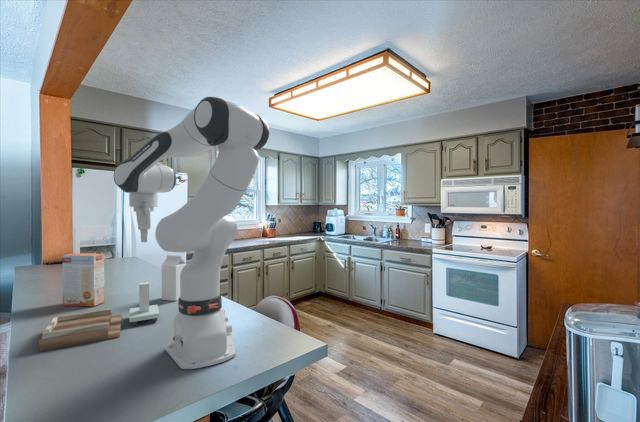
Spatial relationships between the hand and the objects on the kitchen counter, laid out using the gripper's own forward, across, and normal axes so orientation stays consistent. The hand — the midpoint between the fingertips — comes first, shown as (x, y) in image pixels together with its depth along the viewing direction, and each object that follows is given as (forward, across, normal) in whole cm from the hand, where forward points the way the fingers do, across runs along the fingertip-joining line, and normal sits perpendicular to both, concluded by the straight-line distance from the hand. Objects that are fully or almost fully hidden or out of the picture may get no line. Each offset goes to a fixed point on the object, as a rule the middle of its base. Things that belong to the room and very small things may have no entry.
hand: (143, 240), depth 110 cm
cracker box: (+29, +32, +21) cm, 48 cm away
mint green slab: (+28, 0, 0) cm, 29 cm away
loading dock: (+28, -4, +16) cm, 33 cm away
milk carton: (+29, +22, -12) cm, 38 cm away
